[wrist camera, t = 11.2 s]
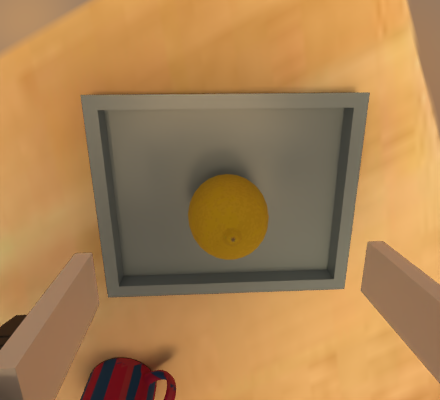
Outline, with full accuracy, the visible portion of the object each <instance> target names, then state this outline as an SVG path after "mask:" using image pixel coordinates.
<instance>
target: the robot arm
mask: <svg viewBox="0 0 440 400" xmlns="http://www.w3.org/2000/svg"><path fill="white" fill-rule="evenodd" d="M361 292H362V293H363V294H364V295H365V296H366V298H367V299H368V300H369V301H370V302H371V303H372V305H373V306H374V307H375V308H376V309H377V310H378V312H379V313H380V314H381V315H382V316H383V317H384V319H385V320H386V321H387V322H388V323H389V325H390V326H391V327H392V328H393V329H394V330H395V332H396V333H397V334H398V335H399V336H400V337H401V339H402V340H403V341H404V342H405V343H406V344H407V346H408V347H409V348H410V349H411V350H412V351H413V353H414V354H415V355H416V356H417V357H418V358H419V360H420V361H421V362H422V363H423V364H424V366H425V367H426V368H427V369H428V370H429V371H430V373H431V374H432V375H433V376H434V377H435V378H436V380H437V381H438V382H439V383H440V285H439V284H438V283H437V282H435V281H434V280H433V279H432V278H430V277H429V276H428V275H426V274H425V273H424V272H422V271H421V270H420V269H419V268H417V267H416V266H415V265H413V264H412V263H411V262H409V261H408V260H407V259H406V258H404V257H403V256H402V255H400V254H399V253H398V252H396V251H395V250H394V249H392V248H391V247H390V246H389V245H387V244H386V243H385V242H383V241H373V242H368V243H367V250H366V257H365V264H364V271H363V278H362V285H361ZM98 306H99V297H98V290H97V283H96V276H95V269H94V262H93V255H92V253H75V254H74V255H73V257H72V258H71V259H70V261H69V262H68V263H67V264H66V266H65V267H64V268H63V270H62V271H61V272H60V273H59V275H58V276H57V277H56V279H55V280H54V281H53V283H52V284H51V285H50V286H49V288H48V289H47V290H46V292H45V293H44V294H43V295H42V297H41V298H40V299H39V301H38V302H37V303H36V304H35V306H34V307H33V308H32V310H31V311H30V312H29V314H28V315H16V316H15V317H13V318H12V319H10V320H9V321H8V322H6V323H5V324H3V325H2V326H1V327H0V400H55V398H56V396H57V394H58V392H59V390H60V387H61V385H62V383H63V381H64V379H65V377H66V375H67V372H68V370H69V368H70V366H71V364H72V362H73V360H74V357H75V355H76V353H77V351H78V349H79V347H80V345H81V342H82V340H83V338H84V336H85V334H86V332H87V329H88V327H89V325H90V323H91V321H92V319H93V317H94V314H95V312H96V310H97V308H98Z"/></svg>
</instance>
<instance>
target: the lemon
mask: <svg viewBox="0 0 440 400" xmlns="http://www.w3.org/2000/svg"><path fill="white" fill-rule="evenodd" d="M188 220H189V227H190V229H191V232H192V235H193V237H194V239H195V240H196V242H197V243H198V245H199V246H200V247H201V248H202V249H203V250H204V251H206V252H207V253H208V254H210V255H212V256H214V257H216V258H220V259H225V260H234V259H238V258H242V257H245V256H247V255H249V254H251V253H252V252H253V251H254V250H255V249H257V248H258V246H259V245H260V243H261V242H262V241H263V239H264V237H265V234H266V232H267V228H268V220H269V215H268V208H267V204H266V201H265V199H264V197H263V195H262V193H261V192H260V191H259V189H258V188H257V187H256V186H255V185H254V184H253V183H252V182H250V181H249V180H247V179H246V178H243V177H241V176H238V175H232V174H223V175H217V176H215V177H212V178H209V179H208V180H206V181H205V182H204V183H202V184H201V185H200V186H199V188H198V189H197V190H196V191H195V193H194V195H193V197H192V199H191V201H190V205H189V211H188Z"/></svg>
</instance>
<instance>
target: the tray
mask: <svg viewBox="0 0 440 400" xmlns="http://www.w3.org/2000/svg"><path fill="white" fill-rule="evenodd" d="M369 94H370V93H264V94H144V95H81V102H82V109H83V116H84V124H85V131H86V138H87V146H88V153H89V160H90V168H91V175H92V183H93V190H94V197H95V205H96V212H97V219H98V227H99V234H100V241H101V249H102V256H103V263H104V271H105V278H106V286H107V293H108V297H134V296H162V295H190V294H218V293H246V292H274V291H302V290H330V289H344V287H345V279H346V271H347V264H348V256H349V248H350V240H351V233H352V225H353V217H354V210H355V202H356V194H357V187H358V179H359V171H360V163H361V156H362V148H363V140H364V133H365V125H366V117H367V110H368V102H369ZM223 174H232V175H238V176H241V177H243V178H246V179H247V180H249V181H250V182H252V183H253V184H254V185H255V186H256V187H257V188H258V189H259V191H260V192H261V193H262V195H263V197H264V199H265V201H266V204H267V208H268V215H269V220H268V228H267V232H266V234H265V237H264V239H263V241H262V242H261V243H260V245H259V246H258V248H257V249H255V250H254V251H253V252H252V253H251V254H249V255H247V256H245V257H242V258H238V259H234V260H225V259H220V258H216V257H214V256H212V255H210V254H208V253H207V252H206V251H204V250H203V249H202V248H201V247H200V246H199V245H198V243H197V242H196V240H195V239H194V237H193V235H192V232H191V229H190V227H189V220H188V211H189V205H190V201H191V199H192V197H193V195H194V193H195V191H196V190H197V189H198V188H199V186H200V185H201V184H202V183H204V182H205V181H206V180H208V179H209V178H212V177H215V176H217V175H223Z"/></svg>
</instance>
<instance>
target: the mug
mask: <svg viewBox="0 0 440 400" xmlns="http://www.w3.org/2000/svg"><path fill="white" fill-rule="evenodd" d="M161 379H165V380H167V390H166V395H165V398H164V400H174V399H175V395H176V384H175V381H174V378H173V377H172V376H171V375H170V374H169V373H168V372H166V371H164V370H155V371H151V370H150V369H149V368H148V367H147V366H146V365H144V364H142V363H141V362H139V361H136V360H133V359H129V358H114V359H110V360H107V361H105V362H103V363H101V364H99V365H98V366H97V367H96V368H95V369H94V370H93V371H92V373H91V374H90V377H89V379H88V382H87V384H86V387H85V389H84V392H83V394H82V397H81V399H80V400H154V397H155V391H156V381H157V380H161Z"/></svg>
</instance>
